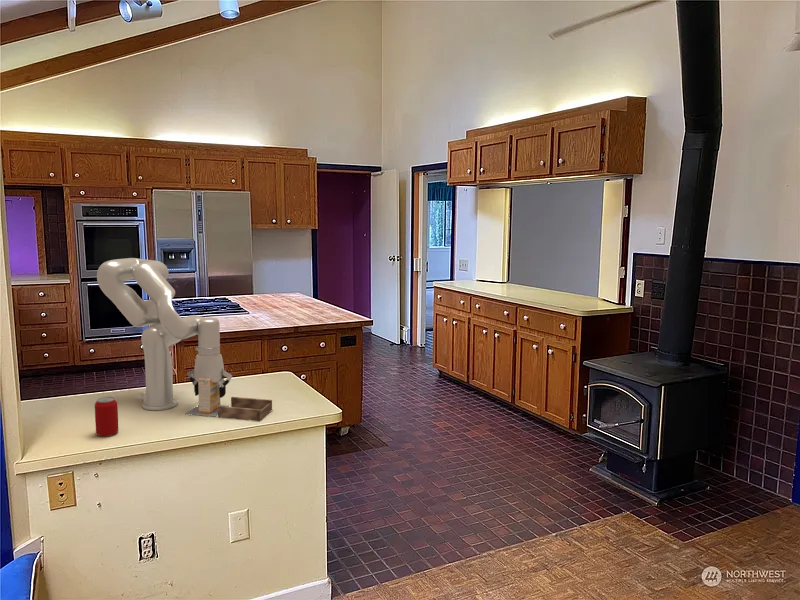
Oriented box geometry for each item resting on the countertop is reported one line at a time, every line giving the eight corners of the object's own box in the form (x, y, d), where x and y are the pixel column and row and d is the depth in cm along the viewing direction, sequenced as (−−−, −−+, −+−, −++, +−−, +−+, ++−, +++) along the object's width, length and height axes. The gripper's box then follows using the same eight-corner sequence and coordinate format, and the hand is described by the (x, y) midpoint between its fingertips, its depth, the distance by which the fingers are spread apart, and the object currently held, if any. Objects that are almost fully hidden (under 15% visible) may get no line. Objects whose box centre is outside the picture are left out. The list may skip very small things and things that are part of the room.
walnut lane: (218, 417, 213) (217, 406, 213) (232, 406, 225) (232, 396, 224) (259, 420, 211) (259, 410, 210) (272, 410, 223) (272, 400, 222)
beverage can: (122, 430, 198) (120, 396, 196) (113, 437, 192) (111, 402, 190) (101, 429, 198) (100, 395, 196) (92, 437, 191) (90, 402, 190)
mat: (184, 414, 215) (184, 413, 215) (200, 404, 227) (200, 403, 227) (215, 417, 213) (215, 416, 213) (229, 406, 225) (229, 405, 225)
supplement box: (210, 414, 215) (209, 379, 214) (198, 412, 216) (197, 378, 214) (221, 406, 224) (220, 373, 222) (209, 405, 224) (209, 372, 222)
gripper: (182, 351, 214) (183, 396, 217) (226, 354, 212) (227, 400, 214) (192, 347, 221) (193, 390, 224) (235, 350, 219) (236, 394, 221)
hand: (210, 395), depth 219 cm, fingers open, 9 cm apart
